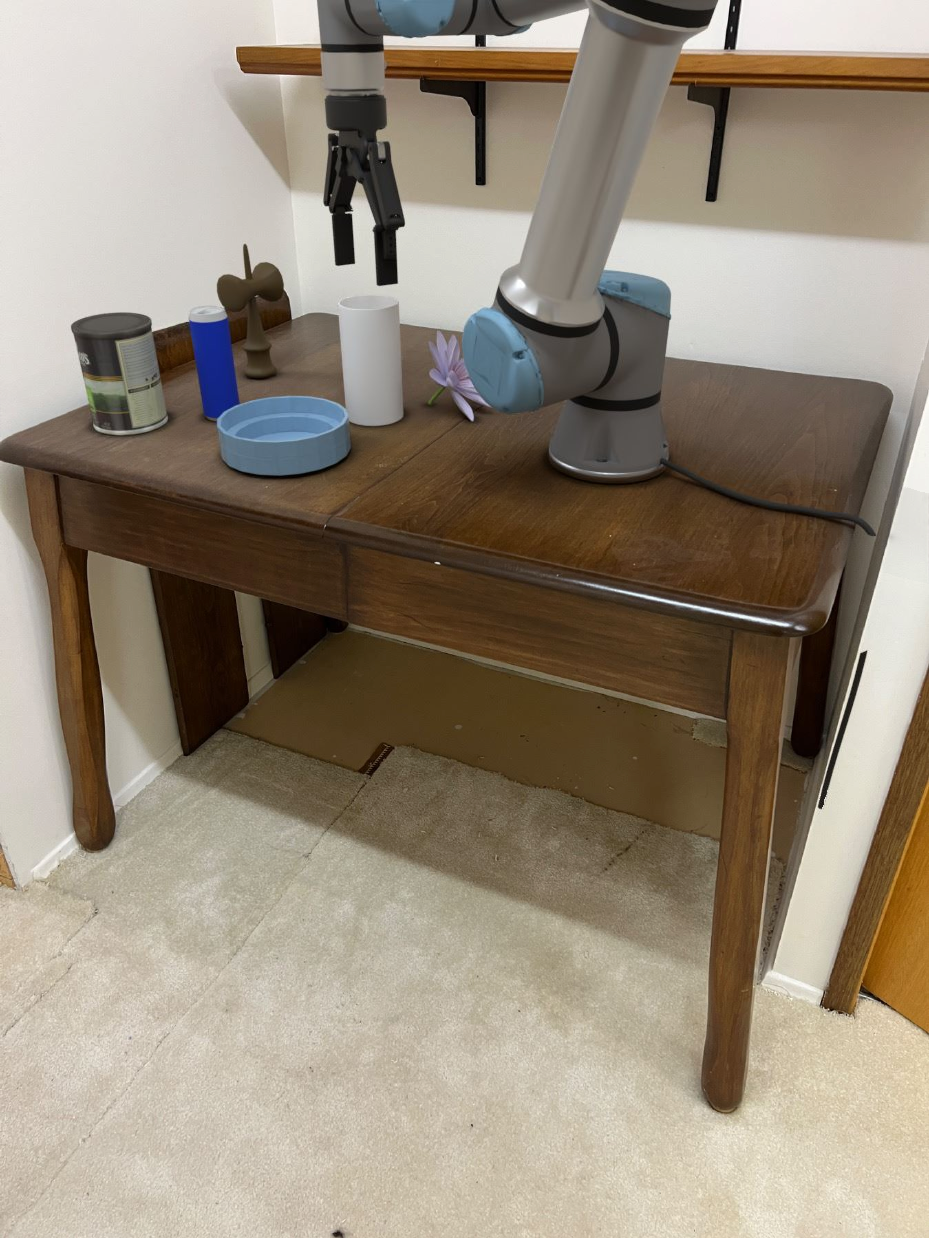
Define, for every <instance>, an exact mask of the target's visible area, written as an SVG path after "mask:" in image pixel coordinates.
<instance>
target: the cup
mask: <svg viewBox="0 0 929 1238" xmlns="http://www.w3.org/2000/svg"><path fill="white" fill-rule="evenodd" d="M337 312H338V325H339V326H338V327H339V337H340V351H341V352H340V353H341V366H342V367H341V368H342V378H343V392H344V404H345V405H344V406H345V407H344V408H345V409H347V412H348V416H349V423H352V424H355V425H359V426H365V427H379V426H386V425H390V424H391V425H392V424H394V423H397V422H399V421H400V420H402V419H403V417H404V396H403V395H404V393H403V373H402V372H403V371H402V369H403V368H402V347H401V323H400V303H399V299H397V298H396V297H393V296H390V295H382V294H360V295H359V294H358V295H352V296H348V297H344V298H341V299H340V300H339V301H337Z"/></svg>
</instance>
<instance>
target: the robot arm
mask: <svg viewBox="0 0 929 1238" xmlns="http://www.w3.org/2000/svg"><path fill="white" fill-rule="evenodd" d="M316 3H317V4H316V6H317V17H318V31H319V40H320V41H319V42H320V48H321V49H320V50H321V51H320V64H321V79H322V88H323V90H325V91H327V93H328V95H327V94H326V96H325V98H324V111H325V112H324V113H325V123H326V127H327V128H328V130H331V131H335V132H330V133H328V134H327V160H326V161H327V162H326V171H325V178H324V179H325V180H324V190H323V198H322V199H323V200H322V203H323V205H324V207H328V211H329V213H330V214H331V226H332V227H331V228H332V239H333V252H334V265H335V266H336V267H341V266H349V265H355V264H356V255H355V252H356V251H355V239H354V222H353V213H351V212H354V209H353V208H354V207H353V206H352V204H351V203H352V200H353V196H354V193H355V189H356V185H357V183H358V184H360V185H362V187H363V190H364V194H365V198H366V200H367V203H368V206H369V208H370V212H371V215H372V217H373V221H374V223H375V224H374V226H373V228H372V230H371V231H372V233H373V241H374V243H373V244H374V245H373V246H374V257H375V258H374V261H375V282H376V286H378V287H384V286H392V285H398V284H399V274H398V273H399V272H398V248H397V247H398V246H397V231H398V230H399V229H400V228H404V227H406V220H405V215H404V211H403V207H402V202H401V197H400V193H399V189H398V185H397V179H396V176H395V170H394V165H393V162H392V149H391V144H390V142H389V141H388V140H386V141H385V140H384V141H378V137H377V132H378V131H381V130H384V129H386V128H387V127H388V113H387V112H388V111H387V98H386V97H385V95H384V94H381V91H383V90H384V89H385V88H386V77H385V75H386V73H385V70H386V69H387V66H388V63H387V61H386V60H385V53H384V52H385V45H384V44H385V43H384V37H403V38H405V39H413V38H417V39H423V38H426V37H446V36H447V37H449V36H450V37H451V36H453V37H454V36H455V37H456V36H457V37H458V36H495V37H507V36H508V37H509V36H513V35H519V34H523V33H525V32H527V31H528V30H530V28H531V27H532V25H533V24H535V23H538V22H542V21H546V20H549V19H554V18H558V17H561V16H565V15H568V14H572V13H575V12H579V11H583V10H584V11H585V10H587V9H588V15H587V20H586V22H585V25H584V26H585V27H584V31H583V34H582V37H581V40H580V44H579V48H578V52H577V56H576V59H575V63H574V66H573V70H572V73H571V76H570V81H569V84H568V86H567V87H568V88H567V91H566V94H565V98H564V102H563V105H562V109H561V113H560V116H559V119H558V123H557V126H556V131H555V133H554V138H553V141H552V145H551V148H550V152H549V155H548V159H547V163H546V166H545V169H544V173H543V176H542V179H541V184H540V187H539V191H538V194H537V198H536V202H535V205H534V209H533V212H532V215H531V219H530V223H529V227H528V230H527V234H526V237H525V241H524V245H523V248H522V252H521V256H520V259H519V261H518V262H519V263H516V264H514V265H512V266H509V267H508V268H506V269H505V270H504V271H503V272H502V274H501V275H500V277H499V281H498V285H497V289H496V292H495V295H494V300H493V302H492V305H491V307H482V308H480V309H479V310H477V311H476V312H475V313H473V314H471V315H470V316H469V317H468V319H467V320H466V322H465V324H464V327H463V330H462V336H461V349H462V350H461V351H462V357H463V358H464V363H465V367H466V369H467V371H468V374H469V376H468V378H469V379H470V380H471V382H472V384H473V386H474V388H475V389H476V391H477V392H478V394H479V395H480V396H481V398H482V399H483V400H484V401H485V402H486V403H487V404H488V405H489V406H491V407H492V408H491V407H490V408H491V409H493V410H495V411H497V412H499V413H502V414H506V415H517V414H522V413H527V412H529V413H530V412H535V411H538V410H539V409H542V408H545V407H549V406H552V405H555V404H559V403H561V402H564V404H563V406H562V409H561V412H560V414H559V418H558V420H557V423H556V426H555V429H554V432H553V434H552V435H551V437H550V440H549V445H548V461H549V463H550V465H551V466H552V467H553V468H554V469H556V470H557V471H558V472H560V473H562V474H564V475H566V476H569V477H571V478H575V479H578V480H581V481H582V480H583V481H586V482H591V483H599V484H630V483H637V482H643V481H646V480H651V479H653V478H655V477H657V476H659V475H660V474H662V473H664V472H665V470H666V469H667V468H669V469H671V470H673V471H675V472H677V473H679V474H681V475H683V476H685V477H687V478H688V479H690V480H693V481H694V482H696V483H698V484H700V485H702V486H704V487H706V488H708V489H711V490H713V491H715V492H718V493H720V494H723V495H725V496H727V497H730V498H733V499H736V500H738V501H741V502H745V503H749V504H751V505H755V506H759V507H763V508H768V509H774V510H780V511H787V512H792V513H793V512H794V513H795V512H796V513H800V514H801V513H802V514H807V515H813V516H817V517H820V518H821V517H822V518H826V519H832V520H842V521H847V522H852V523H854V524H856V525H858V526H859V527H861V528H862V529H863V531H864V532H865V533H866V534H867V535H868V536H870V537H877V534H876V532H875V530H874V529H873V528H872V527H871V525H870V524H869V523H868V522H867V521H865V520H864V519H863V518H862V517H860V516H857V515H855V514H850V513H846V512H836V511H828V510H822V509H818V508H814V507H809V506H803V505H796V504H787V503H780V502H775V501H770V500H764V499H761V498H756V497H752V496H750V495H746V494H742V493H740V492H737V491H734V490H732V489H729V488H726V487H724V486H722V485H719V484H717V483H714V482H712V481H710V480H708V479H706V478H704V477H701V476H700V475H698V474H696V473H694V472H693V471H690V470H688V469H686V468H685V467H682V466H680V465H678V464H676V463H674V462H672V461H670V460H669V457H670V452H669V451H670V447H669V441H668V440H667V432H666V428H665V422H664V418H663V414H662V409H661V396H662V389H663V388H662V387H663V378H664V372H665V362H666V354H667V348H668V347H667V345H668V338H669V337H668V336H669V330H670V322H671V320H672V314H671V307H672V291H671V289H670V287H669V285H668V284H667V283H666V282H665V281H663V280H662V279H659V278H656V277H654V276H649V275H645V274H641V273H640V274H639V273H635V272H629V271H621V270H610V269H605V268H606V265H607V263H608V259H609V256H610V254H611V251H612V248H613V244H614V242H615V239H616V236H617V233H618V231H619V228H620V225H621V222H622V219H623V217H624V214H625V210H626V208H627V205H628V202H629V200H630V197H631V194H632V191H633V188H634V185H635V183H636V180H637V177H638V175H639V171H640V168H641V165H642V163H643V160H644V157H645V154H646V151H647V149H648V146H649V143H650V140H651V138H652V135H653V132H654V129H655V126H656V123H657V120H658V117H659V115H660V112H661V109H662V107H663V103H664V101H665V98H666V96H667V92H668V89H669V87H670V83H671V80H672V78H673V75H674V72H675V70H676V67H677V64H678V61H679V58H680V55H681V53H682V50H683V46H684V44H686V43H687V42H688V41H689V40H690V39H692V38H694V37H695V36H697V35H699V34H700V33H701V34H702V33H703V32H704V31H706V30H707V29H708V28H709V26H710V24H711V21H712V18H713V16H714V13H715V11H716V8H717V5H718V3H719V0H316ZM868 651H869V650H868V649H867V650H864V651H862V652H860V653H859V656H858V660H857V664H856V669H855V673H854V676H853V680H852V683H851V686H850V691H849V695H848V698H847V702H846V705H845V709H844V712H843V715H842V719H841V720H840V725H839V729H838V731H837V735H836V738H835V742H834V745H833V747H832V752H831V754H830V758H829V762H828V765H827V768H826V772H825V776H824V780H823V784H822V786H821V787H822V788H821V791H820V795H821V796H819V799H820V800H818V803H817V808H818V809H819V810H823V809H822V807H823V805H824V806H825V804H824V799H825V797H826V798H827V796H828V792H827V790H828V791H829V788H830V785H831V781H832V777H833V773H834V770H835V767H836V763H837V760H838V756H839V753H840V749H841V746H842V743H843V740H844V737H845V733H846V731H847V726H848V724H849V720H850V717H851V714H852V710H853V707H854V703H855V700H856V696H857V694H858V690H859V688H860V687H859V686H860V683H861V680H862V675H863V672H864V667H865V664H866V660H867V656H868ZM826 795H827V796H826Z"/></svg>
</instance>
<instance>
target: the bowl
mask: <svg viewBox="0 0 929 1238" xmlns="http://www.w3.org/2000/svg"><path fill="white" fill-rule="evenodd" d="M216 429H217V436H218V440H219V441H218V442H219V448H220V456H221V459H222V460H223V461H224V463H225V464H226V465H227V466H228V467H230V468H233V469H235V470H237V471H239V472H243V473H248V474H253V475H259V476H289V475H290V476H291V475H301V474H305V473H312V472H315V471H319V470H322V469H323V470H324V469H326V468H327V467H330V466H333V465H335V464H337V463H339V462H340V461H341V460H343V459H344V458H346V457H347V456H348V454H349V452H350V450H351V449H352V443H351V430H350V421H349V416H348V412H347V409H346V407H344V406H343V405H342V404H340V403H338V402H336V401H332V400H330V399H326V398H322V397H317V396H309V395H281V396H269V397H264V398H259V399H252V400H248V401H246V402H242V403H240V404H239V405H236V406H234V407H232V408H230V409H228V410H227V411H225V412H223V413H222V415H221V416H220V417H219V418H218V419H217V421H216Z"/></svg>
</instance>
